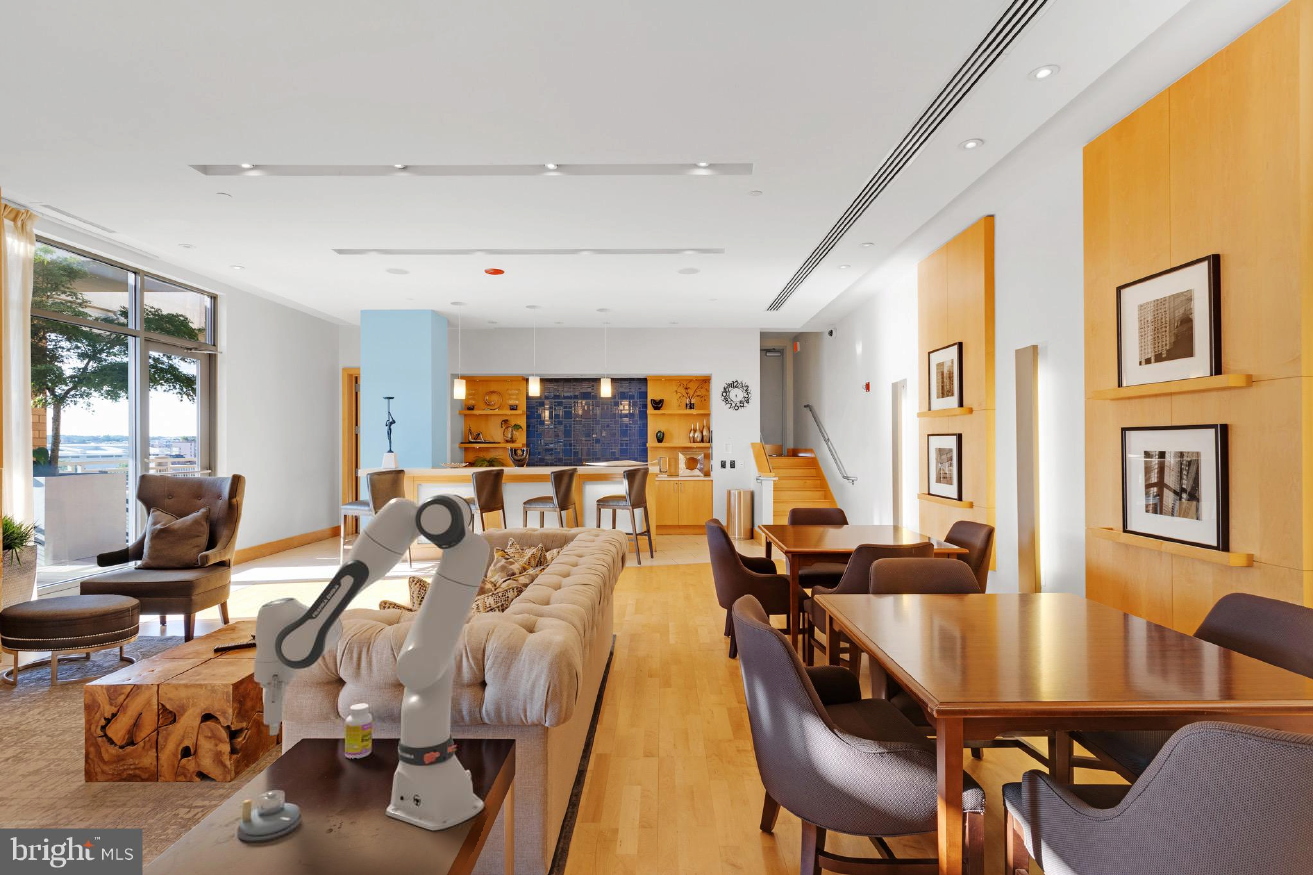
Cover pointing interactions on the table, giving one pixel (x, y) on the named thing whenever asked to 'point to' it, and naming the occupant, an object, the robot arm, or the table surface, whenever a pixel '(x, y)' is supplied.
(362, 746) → the supplement bottle
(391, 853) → the table surface
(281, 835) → the turntable base
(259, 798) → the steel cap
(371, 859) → the table surface
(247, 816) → the turntable
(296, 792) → the table surface
